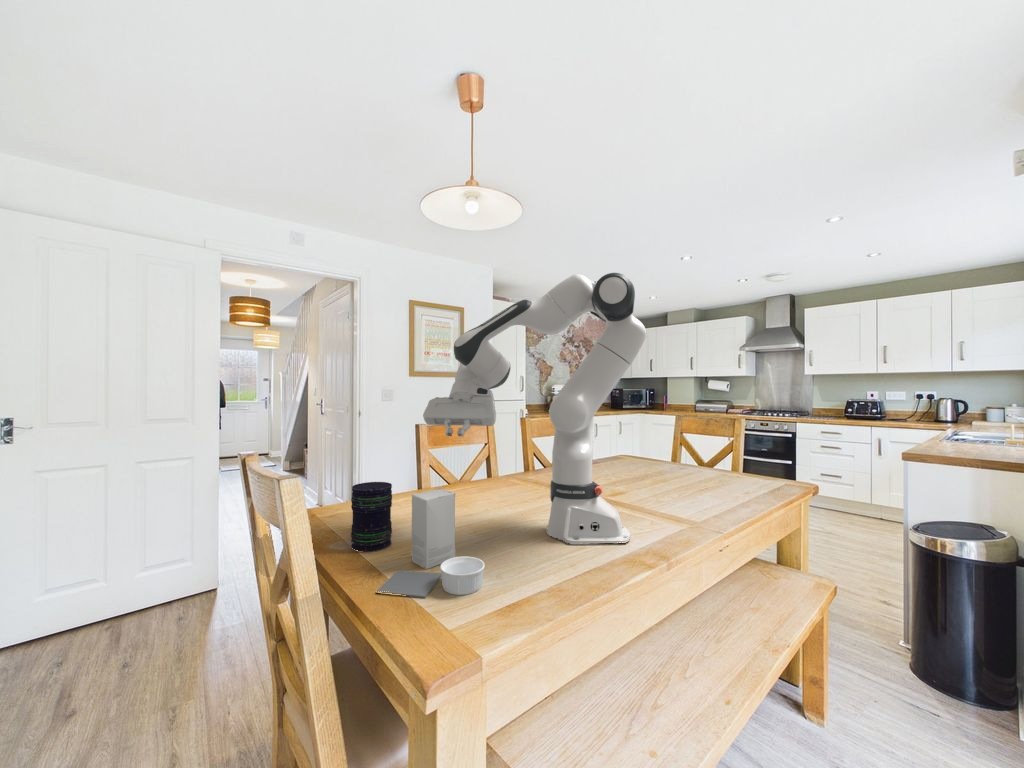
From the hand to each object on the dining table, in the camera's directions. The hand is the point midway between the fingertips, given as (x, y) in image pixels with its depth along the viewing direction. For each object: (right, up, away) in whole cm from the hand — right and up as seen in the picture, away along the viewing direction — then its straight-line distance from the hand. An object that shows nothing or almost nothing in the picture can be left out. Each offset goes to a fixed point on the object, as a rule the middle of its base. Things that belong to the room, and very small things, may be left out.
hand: (454, 435), depth 112 cm
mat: (-5, -27, -27) cm, 39 cm away
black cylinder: (-20, -27, -6) cm, 35 cm away
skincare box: (-3, -27, -16) cm, 32 cm away
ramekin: (+5, -27, -28) cm, 39 cm away
